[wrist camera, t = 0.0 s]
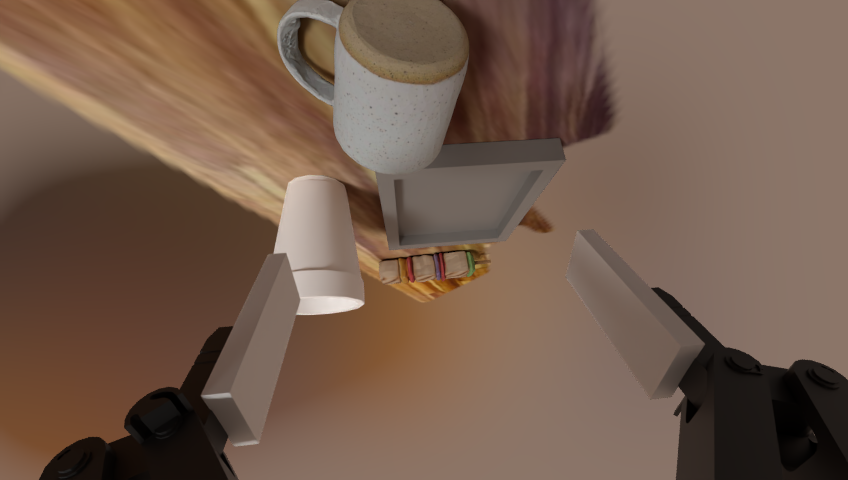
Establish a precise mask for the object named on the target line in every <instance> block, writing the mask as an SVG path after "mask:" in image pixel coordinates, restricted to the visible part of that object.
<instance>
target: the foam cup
mask: <svg viewBox="0 0 848 480" xmlns="http://www.w3.org/2000/svg"><path fill="white" fill-rule="evenodd" d="M277 253H287V257H288V260H289V263H290V267H291V270H292V273H293V276H294V280H295V283H296V286H297V290H298V293H299V296H300V299H301V300H300V303H299V307H298V310H297V314H296V315H313V314H330V313H337V312H344V311H349V310H353V309H356V308H359V307H361V306H362V305H363V304H364V281H363V280H362V278H361V275H360V268H359V262H358V256H357V250H356V244H355V238H354V232H353V226H352V220H351V214H350V208H349V202H348V196H347V192H346V189H345V186H344V184H342V183H341V182H339V181H338V180H336V179H333V178H330V177H326V176H322V175H306V176H302V177H297V178H295V179H293V180H292V181H290V182H289V183H288V187H287V191H286V196H285V200H284V205H283V210H282V215H281V220H280V225H279V230H278V235H277V240H276V245H275V249H274V254H277Z"/></svg>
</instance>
